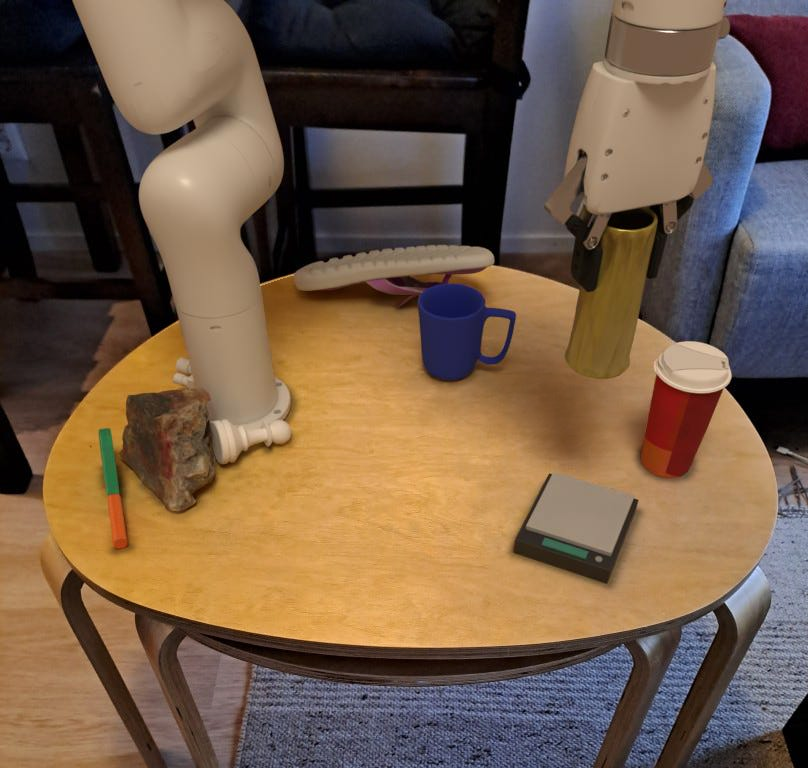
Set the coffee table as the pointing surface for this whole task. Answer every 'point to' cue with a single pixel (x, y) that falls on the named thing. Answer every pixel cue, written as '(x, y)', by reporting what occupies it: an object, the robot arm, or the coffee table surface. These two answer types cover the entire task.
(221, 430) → the chess pawn
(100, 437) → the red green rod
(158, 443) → the rock
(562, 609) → the coffee table surface
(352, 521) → the coffee table surface
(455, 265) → the sandal
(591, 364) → the vase
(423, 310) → the mug
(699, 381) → the paper cup
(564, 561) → the scale
